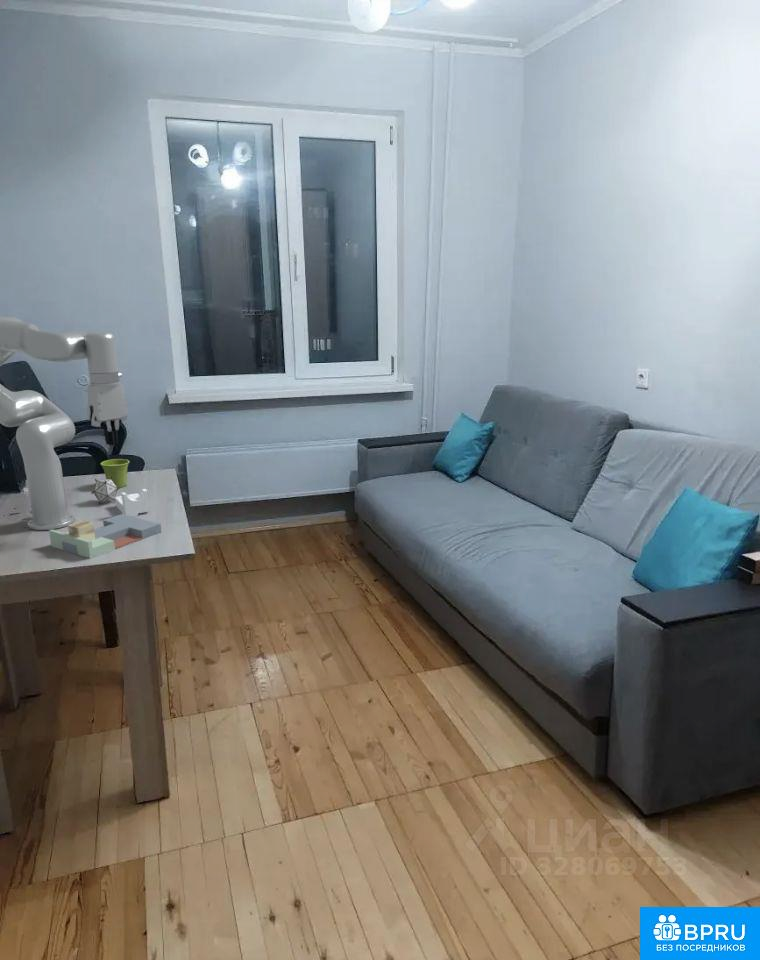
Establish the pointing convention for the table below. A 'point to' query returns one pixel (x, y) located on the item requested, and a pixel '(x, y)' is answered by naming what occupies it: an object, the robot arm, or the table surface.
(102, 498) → the game die
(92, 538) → the maple block
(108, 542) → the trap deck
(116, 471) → the plant pot
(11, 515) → the table surface
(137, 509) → the bracket
